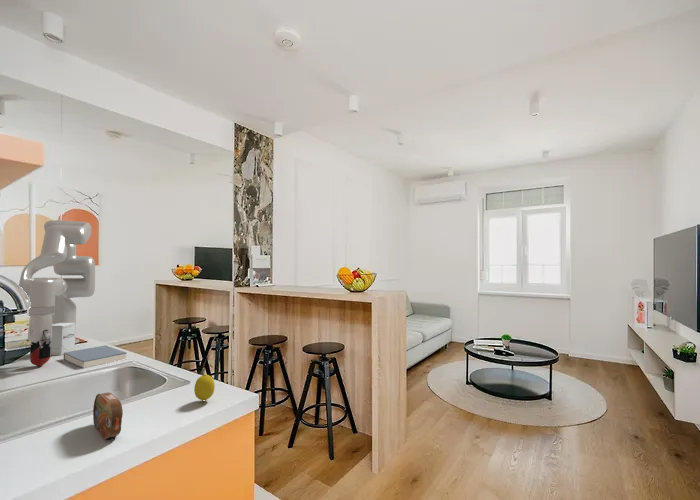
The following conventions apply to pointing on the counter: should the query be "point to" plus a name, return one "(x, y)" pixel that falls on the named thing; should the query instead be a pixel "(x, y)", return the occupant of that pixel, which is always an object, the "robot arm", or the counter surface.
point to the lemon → (204, 387)
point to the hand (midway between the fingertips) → (39, 356)
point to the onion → (37, 358)
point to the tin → (107, 415)
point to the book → (94, 356)
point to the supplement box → (62, 338)
